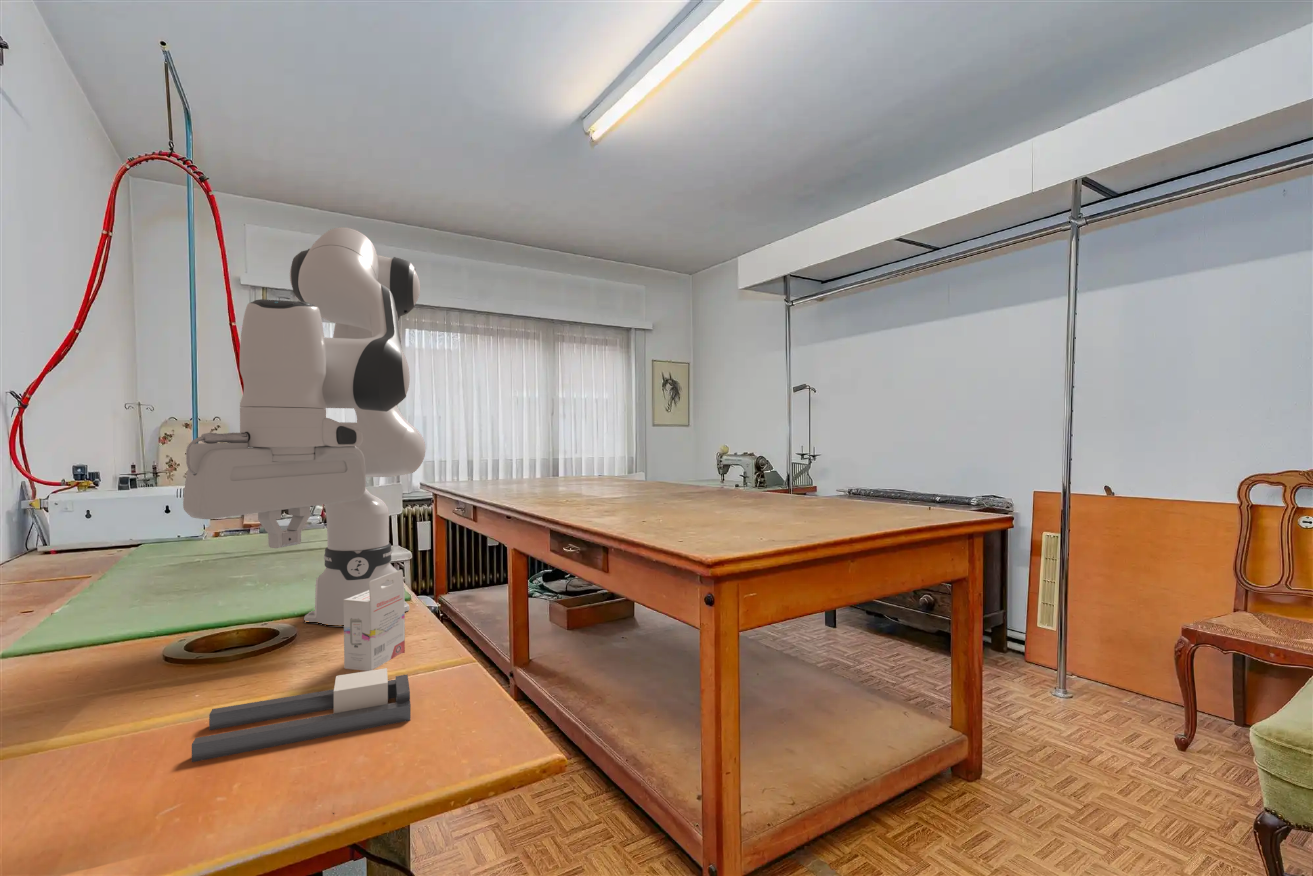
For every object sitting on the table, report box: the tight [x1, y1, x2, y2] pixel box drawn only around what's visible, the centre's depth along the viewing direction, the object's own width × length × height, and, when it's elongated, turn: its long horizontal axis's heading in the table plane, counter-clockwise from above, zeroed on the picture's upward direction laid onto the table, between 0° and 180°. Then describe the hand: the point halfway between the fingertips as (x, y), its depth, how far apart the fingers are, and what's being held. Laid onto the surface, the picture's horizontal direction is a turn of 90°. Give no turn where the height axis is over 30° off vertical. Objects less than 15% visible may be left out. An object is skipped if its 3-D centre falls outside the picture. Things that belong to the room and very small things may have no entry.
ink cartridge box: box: [343, 569, 406, 672], centre depth 92 cm, size 9×5×15 cm, turn 168°
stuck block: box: [333, 667, 389, 714], centre depth 75 cm, size 5×6×4 cm
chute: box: [191, 674, 412, 763], centre depth 72 cm, size 9×22×4 cm, turn 116°
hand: (285, 546), depth 71 cm, fingers closed
